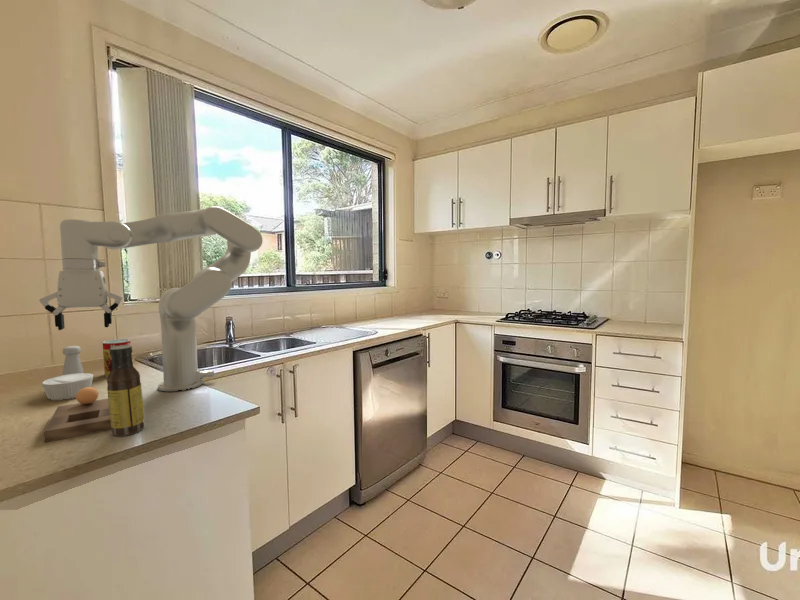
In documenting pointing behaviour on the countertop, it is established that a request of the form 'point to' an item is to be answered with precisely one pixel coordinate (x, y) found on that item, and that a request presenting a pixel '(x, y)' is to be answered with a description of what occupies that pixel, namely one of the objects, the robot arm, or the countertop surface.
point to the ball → (87, 395)
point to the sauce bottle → (124, 393)
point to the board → (78, 420)
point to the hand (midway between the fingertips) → (84, 327)
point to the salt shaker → (72, 360)
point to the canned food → (106, 352)
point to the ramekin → (66, 385)
